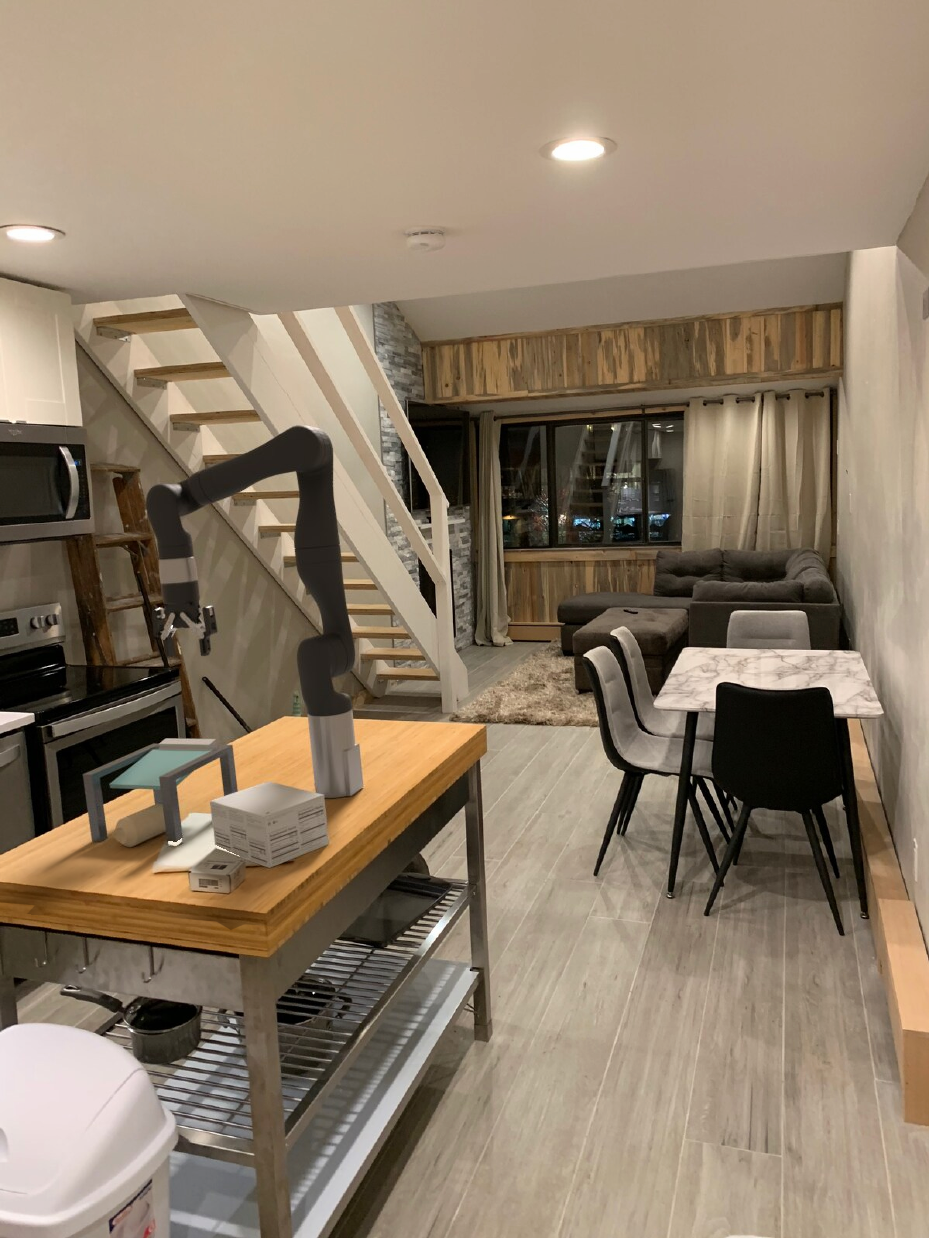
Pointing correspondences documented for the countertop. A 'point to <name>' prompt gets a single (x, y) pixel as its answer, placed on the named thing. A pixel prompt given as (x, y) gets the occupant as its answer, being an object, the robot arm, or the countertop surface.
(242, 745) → the countertop surface
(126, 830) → the candle
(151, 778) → the trapdoor
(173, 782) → the frame
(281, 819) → the supplement box
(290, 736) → the countertop surface
